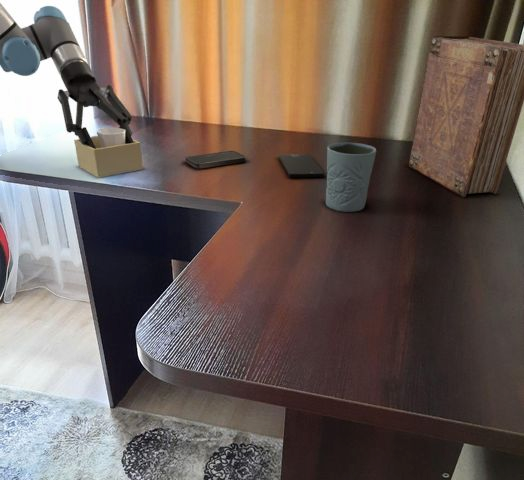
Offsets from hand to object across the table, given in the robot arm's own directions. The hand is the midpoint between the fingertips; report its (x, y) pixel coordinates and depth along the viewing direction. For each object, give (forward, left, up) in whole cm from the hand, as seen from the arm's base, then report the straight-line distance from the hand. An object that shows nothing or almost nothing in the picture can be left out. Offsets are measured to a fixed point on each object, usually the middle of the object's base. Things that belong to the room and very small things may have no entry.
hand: (114, 151), depth 125 cm
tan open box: (0, +3, -5) cm, 6 cm away
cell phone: (+40, -25, -5) cm, 47 cm away
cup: (0, +3, -4) cm, 5 cm away
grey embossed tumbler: (+29, -51, -5) cm, 59 cm away
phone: (+25, -8, -5) cm, 27 cm away
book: (+64, -54, -5) cm, 84 cm away
